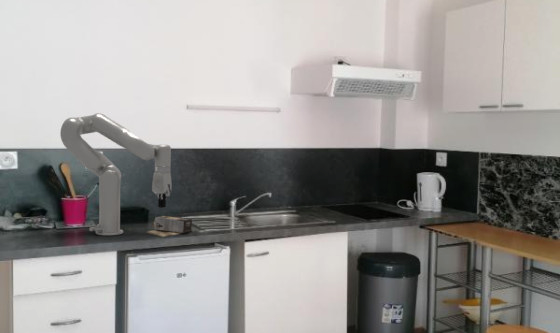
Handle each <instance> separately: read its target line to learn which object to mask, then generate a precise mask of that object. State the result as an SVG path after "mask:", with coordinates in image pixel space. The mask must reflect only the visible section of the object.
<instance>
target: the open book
mask: <svg viewBox="0 0 560 333" xmlns="http://www.w3.org/2000/svg"><path fill="white" fill-rule="evenodd" d="M146 233H147V234H151V235H154V236H158V237H163V238H164V237H165V238H166V237H171V236H176V235H182V233H179V232H171V231H164V230H156V229H154V230H148V231H146Z"/></svg>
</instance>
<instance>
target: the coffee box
mask: <svg viewBox="0 0 560 333" xmlns="http://www.w3.org/2000/svg"><path fill="white" fill-rule="evenodd" d="M192 225H193V219H192V218H184V217H178V216H177V217H176V216H175V217H174V216H167V215H160V216H156V217H154V230H164V231H171V232H179V233H181V234H186V233H189V232H191V233H192Z"/></svg>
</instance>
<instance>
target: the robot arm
mask: <svg viewBox="0 0 560 333" xmlns="http://www.w3.org/2000/svg"><path fill="white" fill-rule="evenodd" d="M59 133H60V139H61V143H62V145H64V147H65V148H66V149H67V150H68V151H69V153H70V154H72V155H73V156H74V158H76V160H77V161H79V162H80V164H82V165H83V167H84V168H85V169H86V170H88V171H91V172H92V173H93V174H94V175H96V176H97V177H98V187H99V188H98V189H99V191H98V192H99V193H98V194H99V195H98V196H99V197H98V198H99V199H98V204H99V205H98V206H99V207H98V210H99V212H98V213H99V215H98V216H99V217H98V223H97V224H96V226H90V227H89V230H88V231H90V232H95V234H96V235H97V236H98V235H99V236H105V237H106V236H109V237H110V236H118V235H121V234H122V235H123V233H124V230H123V229H121V179H122V173H121V171H120V169H119V168H118V166H116V165H115V164H114V163H113V162H112V161H111V160H110V159H109V158H108V157H106V156H105V155H104V153H102V152H100V151H98V150H95V149H94V148H93V147H92V146H91V145H90V144H89V143H88V142H87V141H86V140H85V139H84V138H83V137H82V135H86V134H94V133H99V135H100V136H101V135H102V136H103V137H105V138H107V139H108V140H110V141H111V142H113V143H115V144H116V145H118V146H119V147H122V148H124V149H125V150H126V151H129V152H130V153H131V154H134V155H135V156H137V157H138V158H140V159H142V160H143V161H144V160H145V161H149V160H152V159H154V172H153V175H152V176H153V177H152V184H151V191H152V192H153V193H154V195H156V196H157V199H158V203H157V206H158V208H166V204H167V203H166V202H167V199H168V198H167V197H170V195H171V193H172V187H173V186H172V185H173V184H172V174H171V162H172V161H171V159H172V155H171V152H172V150H171V149H172V147H171V145H168V144H151V143H148V142H146V141H144V140H143V139H141V138H139V137H138V136H136V135H135V134H133V133H132V132H131V131H130V130H129V129H127V128H126V127H124V126H123V125H121V124H119V122H116V121H115V120H113V119H111V118H109V116H106V115H105V114H103V113H101V112H100V113H99V112H98V113H94V114H91V115H87V116H86V115H85V116H79V117H78V116H77V117H68V118H67V119H65V120H64V121H63V123H62V125H61V128H60V132H59Z"/></svg>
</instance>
